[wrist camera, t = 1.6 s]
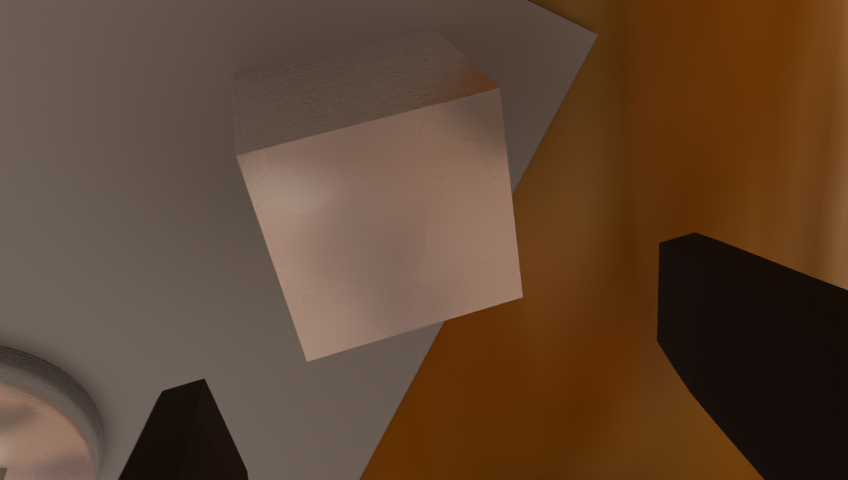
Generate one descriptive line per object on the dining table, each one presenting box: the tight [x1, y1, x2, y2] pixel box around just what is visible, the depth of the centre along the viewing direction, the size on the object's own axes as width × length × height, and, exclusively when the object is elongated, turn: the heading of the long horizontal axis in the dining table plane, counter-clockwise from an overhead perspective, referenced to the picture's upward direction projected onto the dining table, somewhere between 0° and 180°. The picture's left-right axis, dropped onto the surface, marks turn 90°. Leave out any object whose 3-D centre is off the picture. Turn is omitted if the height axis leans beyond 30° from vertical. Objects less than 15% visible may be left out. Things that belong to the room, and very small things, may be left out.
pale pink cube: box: [231, 26, 523, 362], centre depth 16 cm, size 5×5×5 cm
